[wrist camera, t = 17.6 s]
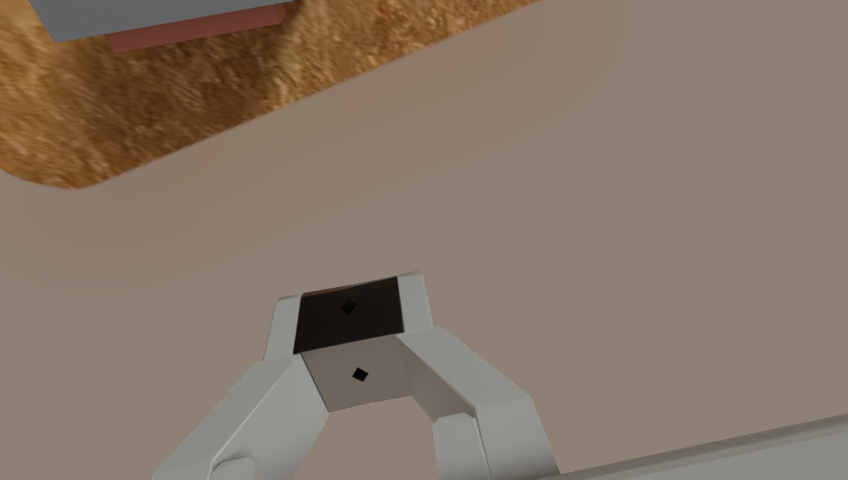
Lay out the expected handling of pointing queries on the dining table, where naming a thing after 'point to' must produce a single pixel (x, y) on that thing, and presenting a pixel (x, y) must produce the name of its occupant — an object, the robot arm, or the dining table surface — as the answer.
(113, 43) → the red button
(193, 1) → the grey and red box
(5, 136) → the dining table surface
